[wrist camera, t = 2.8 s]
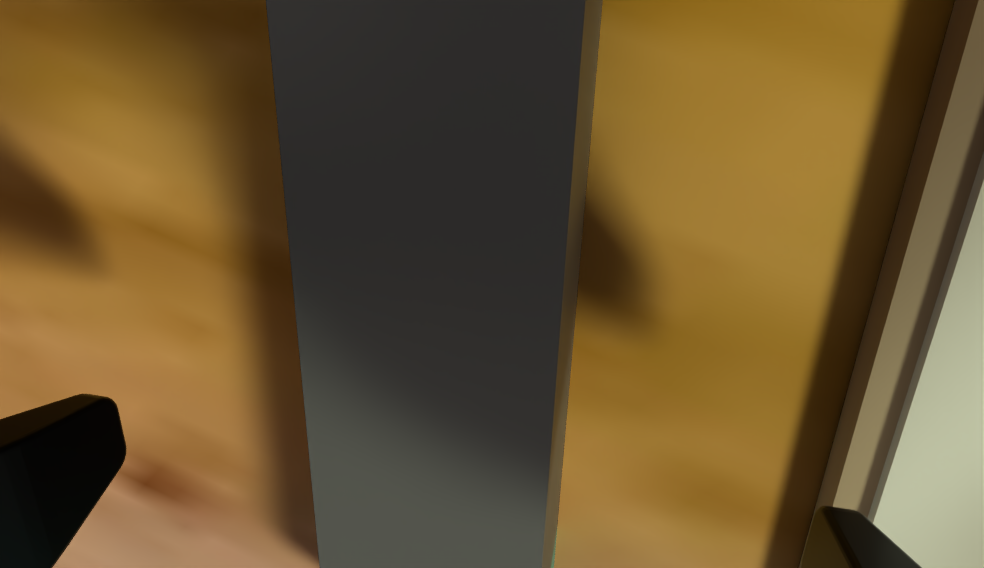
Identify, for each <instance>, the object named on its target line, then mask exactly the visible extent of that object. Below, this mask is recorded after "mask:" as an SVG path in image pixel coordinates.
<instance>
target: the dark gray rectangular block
mask: <svg viewBox="0 0 984 568" xmlns="http://www.w3.org/2000/svg"><path fill="white" fill-rule="evenodd" d="M602 1H603V0H266V7H267V18H268V28H269V39H270V49H271V60H272V70H273V81H274V91H275V102H276V112H277V123H278V133H279V144H280V155H281V165H282V176H283V186H284V197H285V207H286V218H287V228H288V239H289V249H290V260H291V270H292V281H293V291H294V302H295V312H296V323H297V334H298V344H299V355H300V365H301V376H302V386H303V397H304V407H305V418H306V428H307V439H308V449H309V460H310V470H311V481H312V491H313V502H314V512H315V523H316V534H317V544H318V555H319V565H320V568H554V559H555V547H556V535H557V524H558V512H559V501H560V489H561V477H562V466H563V454H564V443H565V431H566V419H567V408H568V396H569V384H570V373H571V361H572V350H573V338H574V326H575V315H576V303H577V292H578V280H579V268H580V257H581V245H582V233H583V222H584V210H585V199H586V187H587V175H588V164H589V152H590V141H591V129H592V117H593V106H594V94H595V82H596V71H597V59H598V48H599V36H600V24H601V13H602Z"/></svg>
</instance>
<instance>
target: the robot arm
mask: <svg viewBox="0 0 984 568" xmlns="http://www.w3.org/2000/svg"><path fill="white" fill-rule="evenodd" d="M125 456H126V443H125V438H124V434H123V429H122V425H121V420H120V416H119V412H118V408H117V405H116V403H115V402H114V401H113V400H112V399H110V398H108V397H104V396H98V395H91V394H79V395H75V396H72V397H69V398H66V399H63V400H60V401H56V402H53V403H50V404H47V405H44V406H41V407H38V408H34V409H31V410H28V411H25V412H22V413H19V414H16V415H12V416H9V417H6V418H3V419H0V568H52V567H53V566H54V565H55V563H56V562H57V560H58V559H59V558H60V556H61V555H62V553H63V552H64V551H65V549H66V548H67V546H68V545H69V543H70V542H71V540H72V539H73V537H74V536H75V534H76V533H77V532H78V530H79V529H80V527H81V526H82V524H83V523H84V521H85V520H86V518H87V517H88V515H89V514H90V512H91V511H92V509H93V508H94V506H95V505H96V503H97V502H98V500H99V499H100V498H101V496H102V495H103V493H104V492H105V490H106V489H107V487H108V486H109V484H110V483H111V481H112V480H113V478H114V477H115V475H116V474H117V472H118V471H119V469H120V468H121V466H122V464H123V462H124V460H125ZM801 568H922V567H921V566H920V565H919V564H917V563H916V562H915V561H914V560H913V559H912V558H911V557H910V556H909V555H907V554H906V553H905V552H904V551H903V550H902V549H901V548H900V547H899V546H897V545H896V544H895V543H894V542H893V541H892V540H891V539H890V538H889V537H887V536H886V535H885V534H884V533H883V532H882V531H881V530H880V529H879V528H877V527H876V526H875V525H874V524H873V523H872V522H871V521H870V520H869V519H867V518H866V517H865V516H864V515H863V514H861V513H860V512H858V511H856V510H852V509H845V508H838V507H832V506H822V507H820V508H818V509H817V511H816V513H815V515H814V518H813V521H812V525H811V528H810V532H809V536H808V539H807V543H806V546H805V550H804V554H803V557H802V562H801Z"/></svg>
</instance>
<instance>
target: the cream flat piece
mask: <svg viewBox="0 0 984 568" xmlns="http://www.w3.org/2000/svg"><path fill="white" fill-rule="evenodd" d="M822 506H832V507H838V508H845V509H852V510H856V511H858V512H860V513H861V514H863V515H864V516H865V517H866V518H867V519H869V520H870V521H871V522H872V523H873V524H874V525H875V526H876V527H877V528H879V529H880V530H881V531H882V532H883V533H884V534H885V535H886V536H887V537H889V538H890V539H891V540H892V541H893V542H894V543H895V544H896V545H897V546H899V547H900V548H901V549H902V550H903V551H904V552H905V553H906V554H907V555H909V556H910V557H911V558H912V559H913V560H914V561H915V562H916V563H917V564H919V565H920V566H921V567H922V568H984V0H955V3H954V6H953V10H952V13H951V17H950V21H949V24H948V28H947V32H946V35H945V39H944V42H943V46H942V50H941V53H940V57H939V61H938V64H937V68H936V71H935V75H934V79H933V82H932V86H931V90H930V93H929V97H928V100H927V104H926V108H925V111H924V115H923V119H922V122H921V126H920V129H919V133H918V137H917V140H916V144H915V148H914V151H913V155H912V159H911V162H910V166H909V169H908V173H907V177H906V180H905V184H904V188H903V191H902V195H901V198H900V202H899V206H898V209H897V213H896V217H895V220H894V224H893V227H892V231H891V235H890V238H889V242H888V246H887V249H886V253H885V256H884V260H883V264H882V267H881V271H880V275H879V278H878V282H877V285H876V289H875V293H874V296H873V300H872V304H871V307H870V311H869V314H868V318H867V322H866V325H865V329H864V333H863V336H862V340H861V343H860V347H859V351H858V354H857V358H856V362H855V365H854V369H853V372H852V376H851V380H850V383H849V387H848V391H847V394H846V398H845V401H844V405H843V409H842V412H841V416H840V420H839V423H838V427H837V430H836V434H835V438H834V441H833V445H832V449H831V452H830V456H829V459H828V463H827V467H826V470H825V474H824V478H823V481H822V485H821V488H820V492H819V496H818V499H817V503H816V507H815V510H814V514H813V517H812V521H813V518H814V515H815V513H816V511H817V509H818V508H820V507H822ZM812 521H811V525H812ZM811 525H810V528H811ZM810 528H809V532H810ZM809 532H808V536H809ZM808 536H807V539H808ZM807 539H806V543H807ZM806 543H805V546H806ZM805 546H804V550H805ZM804 550H803V554H804ZM803 554H802V557H803ZM802 557H801V561H800V565H799V568H801V562H802Z"/></svg>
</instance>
